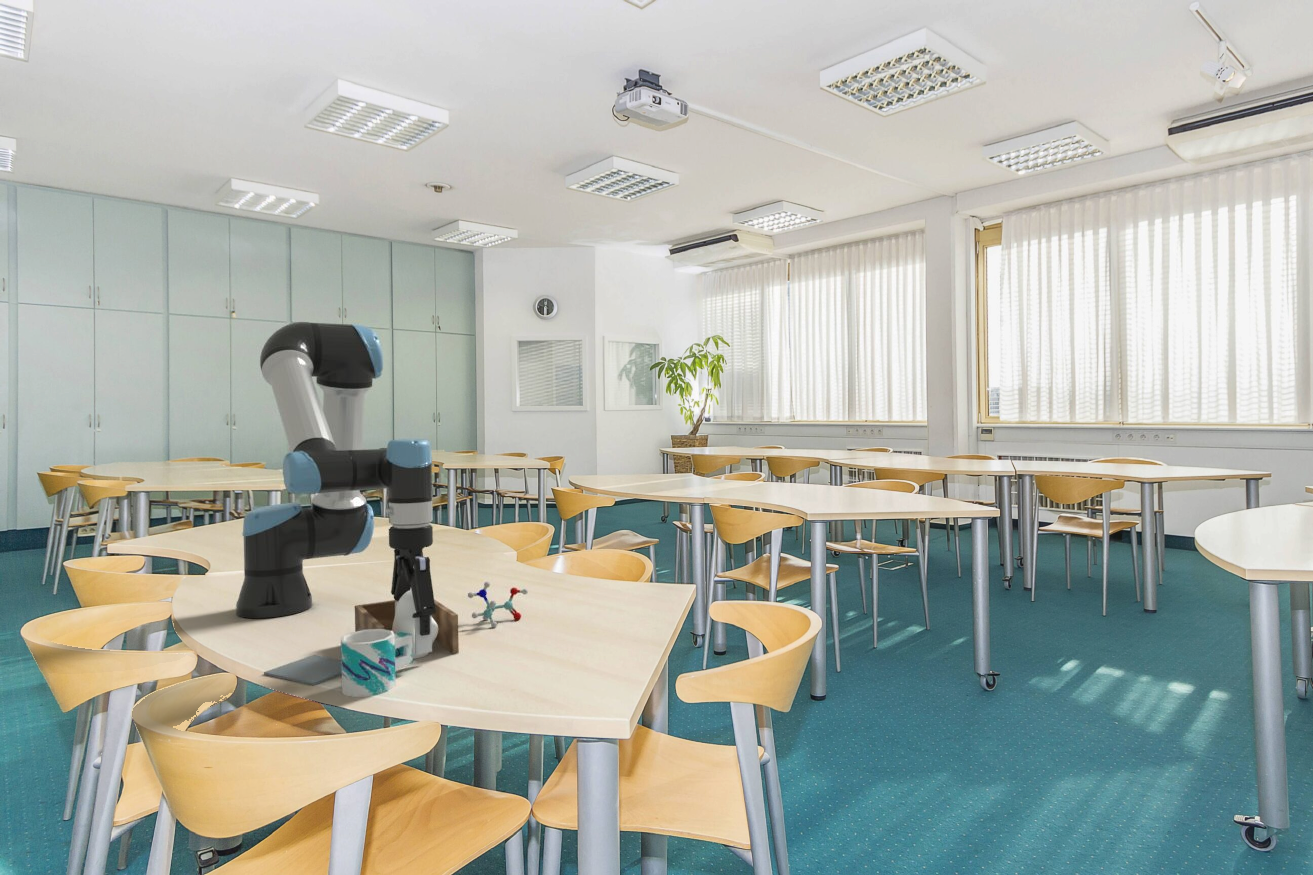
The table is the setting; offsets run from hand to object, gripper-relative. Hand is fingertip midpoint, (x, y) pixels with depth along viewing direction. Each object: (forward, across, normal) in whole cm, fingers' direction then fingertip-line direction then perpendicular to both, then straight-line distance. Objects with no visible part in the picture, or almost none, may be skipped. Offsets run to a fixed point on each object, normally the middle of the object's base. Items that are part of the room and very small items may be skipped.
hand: (413, 643), depth 135 cm
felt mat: (+2, -1, -16) cm, 16 cm away
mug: (+2, +11, -9) cm, 14 cm away
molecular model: (+2, -12, +20) cm, 24 cm away
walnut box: (+2, -5, 0) cm, 5 cm away
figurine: (+2, 0, 0) cm, 2 cm away
